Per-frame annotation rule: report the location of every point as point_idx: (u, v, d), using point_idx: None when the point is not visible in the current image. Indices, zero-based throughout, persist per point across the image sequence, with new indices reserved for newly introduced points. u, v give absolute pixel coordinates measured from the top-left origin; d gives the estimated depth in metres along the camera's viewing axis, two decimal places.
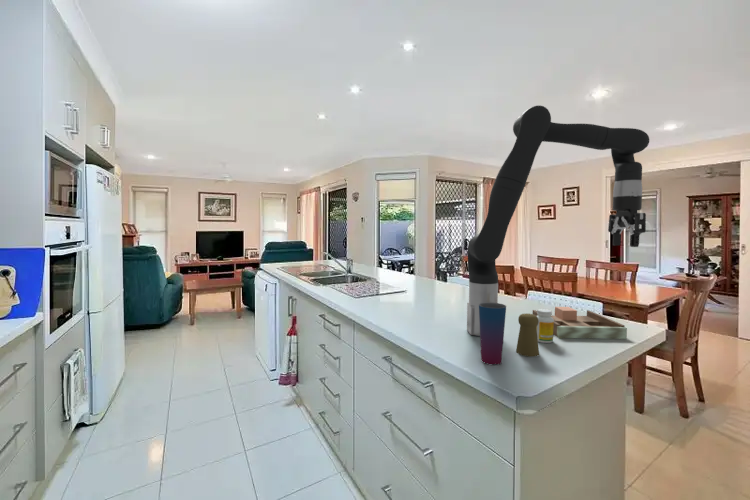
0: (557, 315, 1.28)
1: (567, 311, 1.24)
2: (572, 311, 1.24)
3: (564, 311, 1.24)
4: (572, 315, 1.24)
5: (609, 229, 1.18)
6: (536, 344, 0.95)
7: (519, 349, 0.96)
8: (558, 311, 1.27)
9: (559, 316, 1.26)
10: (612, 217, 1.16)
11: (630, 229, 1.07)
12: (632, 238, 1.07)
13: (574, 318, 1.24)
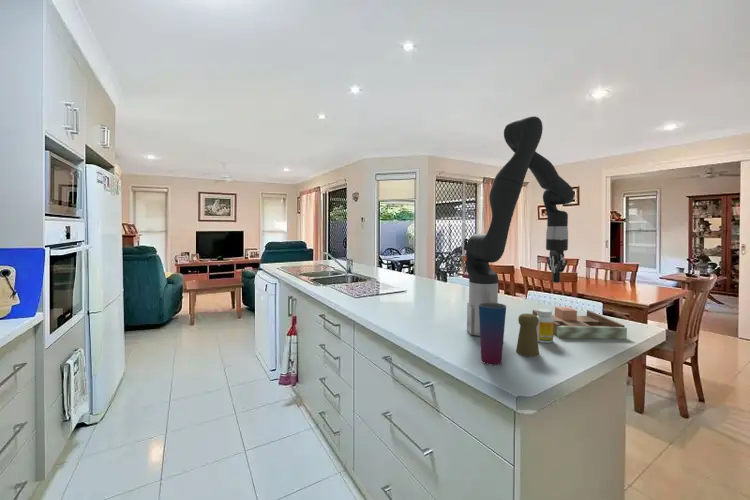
0: (557, 315, 1.28)
1: (567, 311, 1.24)
2: (572, 311, 1.24)
3: (564, 311, 1.24)
4: (572, 315, 1.24)
5: (550, 268, 1.37)
6: (536, 344, 0.95)
7: (519, 349, 0.96)
8: (558, 311, 1.27)
9: (559, 316, 1.26)
10: (548, 258, 1.39)
11: (554, 268, 1.33)
12: (554, 276, 1.34)
13: (574, 318, 1.24)
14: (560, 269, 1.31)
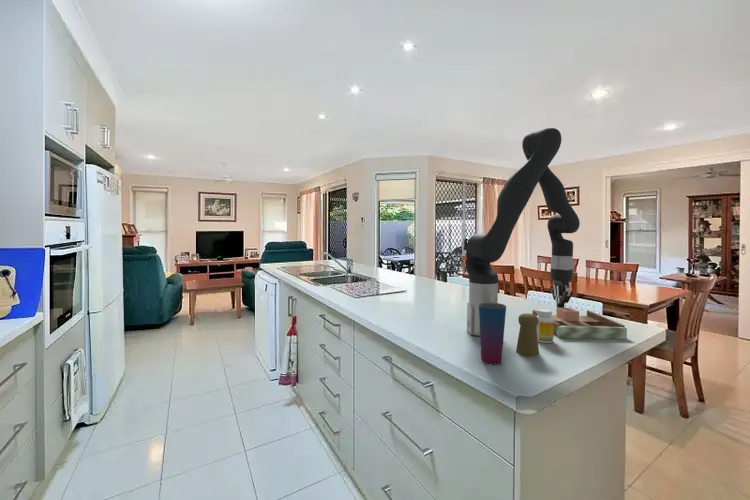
0: (559, 316, 1.27)
1: (569, 312, 1.23)
2: (574, 312, 1.23)
3: (566, 312, 1.23)
4: (574, 315, 1.23)
5: (554, 297, 1.33)
6: (536, 344, 0.95)
7: (519, 349, 0.96)
8: (560, 311, 1.25)
9: (561, 317, 1.25)
10: (552, 287, 1.35)
11: (558, 298, 1.29)
12: (559, 306, 1.30)
13: (576, 319, 1.23)
14: (565, 300, 1.27)
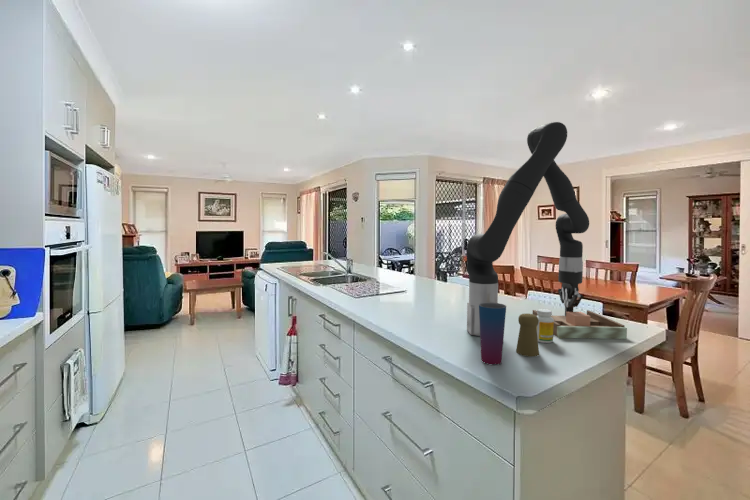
0: (569, 321, 1.20)
1: (580, 317, 1.16)
2: (585, 317, 1.16)
3: (577, 317, 1.16)
4: (585, 320, 1.16)
5: (562, 301, 1.27)
6: (536, 344, 0.95)
7: (519, 349, 0.96)
8: (570, 316, 1.19)
9: (571, 322, 1.19)
10: (560, 290, 1.29)
11: (567, 302, 1.23)
12: (567, 310, 1.23)
13: (587, 324, 1.16)
14: (574, 304, 1.21)
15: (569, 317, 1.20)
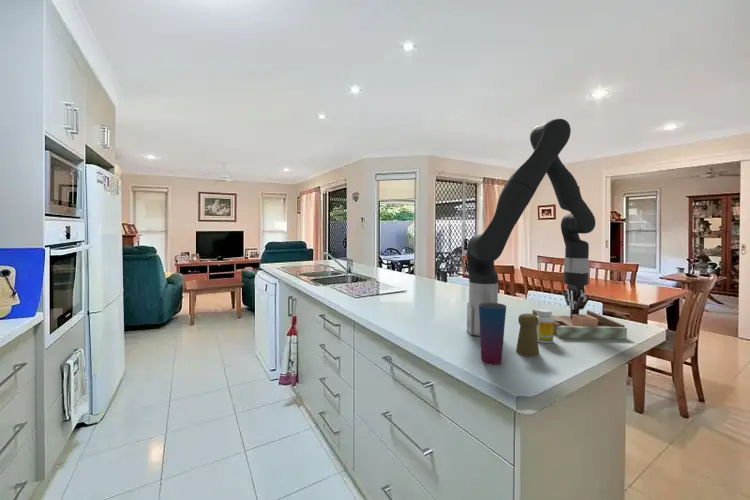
0: (575, 323, 1.16)
1: (587, 319, 1.13)
2: (592, 319, 1.12)
3: (583, 319, 1.13)
4: (592, 323, 1.12)
5: (567, 303, 1.23)
6: (536, 344, 0.95)
7: (519, 349, 0.96)
8: (577, 319, 1.15)
9: (577, 325, 1.15)
10: (565, 292, 1.25)
11: (572, 304, 1.19)
12: (573, 313, 1.20)
13: None
14: (580, 306, 1.17)
15: (575, 320, 1.16)
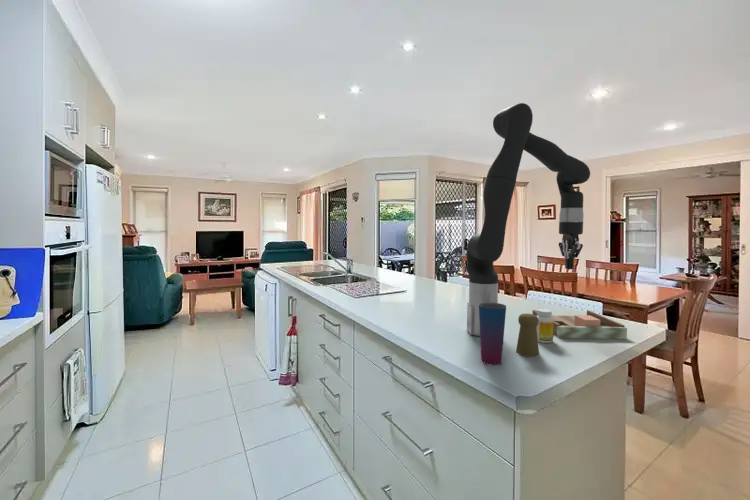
0: (577, 325, 1.15)
1: (589, 320, 1.11)
2: (595, 320, 1.11)
3: (586, 320, 1.11)
4: (595, 324, 1.11)
5: (562, 253, 1.27)
6: (536, 344, 0.95)
7: (519, 349, 0.96)
8: (579, 320, 1.14)
9: None
10: (561, 244, 1.29)
11: (567, 253, 1.23)
12: (567, 262, 1.24)
13: None
14: (574, 254, 1.21)
15: (578, 321, 1.15)
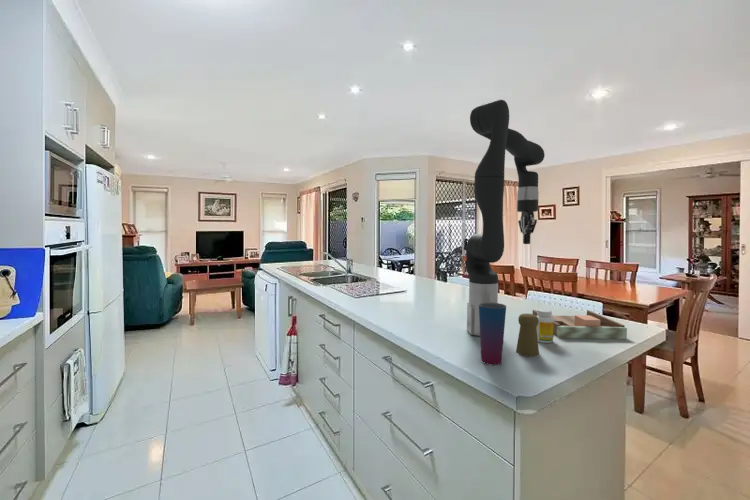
0: (577, 325, 1.15)
1: (589, 320, 1.11)
2: (595, 320, 1.11)
3: (586, 320, 1.11)
4: (595, 324, 1.11)
5: (521, 230, 1.37)
6: (536, 344, 0.95)
7: (519, 349, 0.96)
8: (579, 320, 1.14)
9: None
10: (520, 221, 1.39)
11: (524, 229, 1.33)
12: (525, 237, 1.34)
13: None
14: (530, 230, 1.31)
15: (578, 321, 1.15)
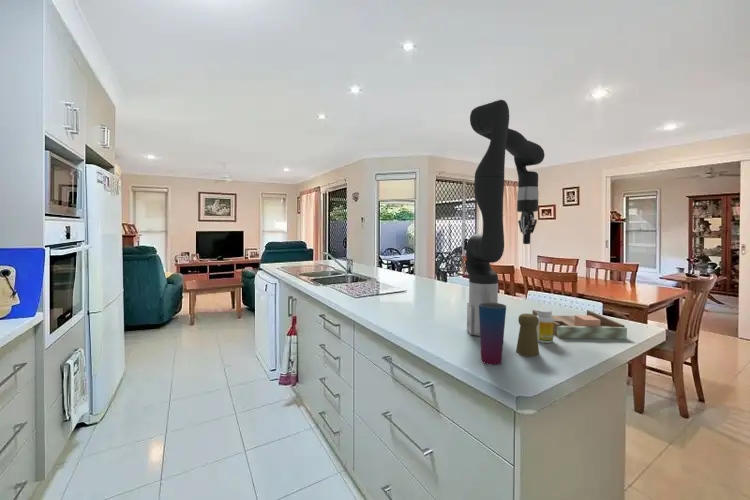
0: (577, 325, 1.15)
1: (589, 320, 1.11)
2: (595, 320, 1.11)
3: (586, 320, 1.11)
4: (595, 324, 1.11)
5: (521, 230, 1.37)
6: (536, 344, 0.95)
7: (519, 349, 0.96)
8: (579, 320, 1.14)
9: None
10: (520, 221, 1.39)
11: (524, 229, 1.33)
12: (525, 237, 1.34)
13: None
14: (530, 230, 1.31)
15: (578, 321, 1.15)
